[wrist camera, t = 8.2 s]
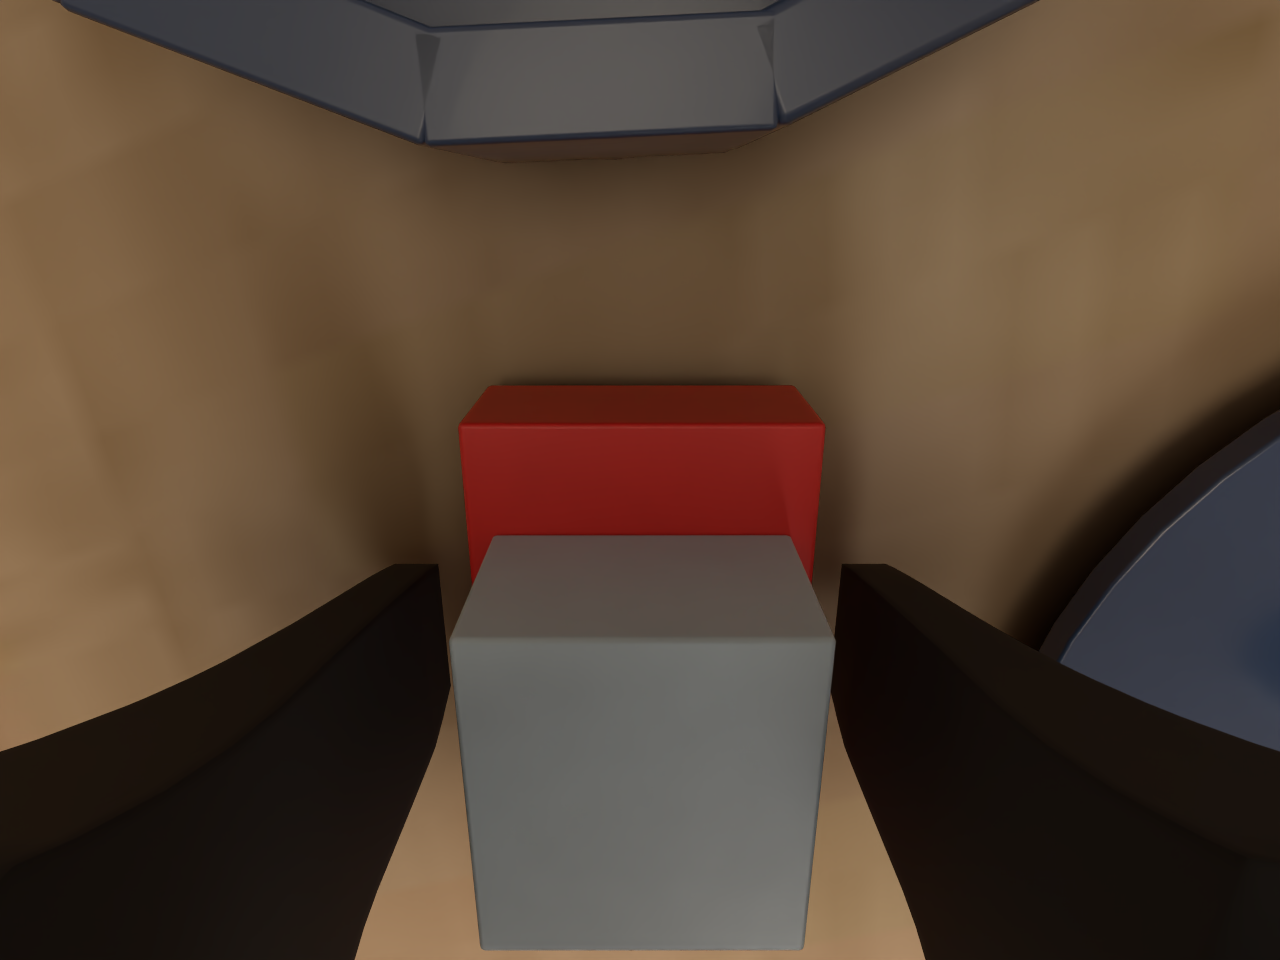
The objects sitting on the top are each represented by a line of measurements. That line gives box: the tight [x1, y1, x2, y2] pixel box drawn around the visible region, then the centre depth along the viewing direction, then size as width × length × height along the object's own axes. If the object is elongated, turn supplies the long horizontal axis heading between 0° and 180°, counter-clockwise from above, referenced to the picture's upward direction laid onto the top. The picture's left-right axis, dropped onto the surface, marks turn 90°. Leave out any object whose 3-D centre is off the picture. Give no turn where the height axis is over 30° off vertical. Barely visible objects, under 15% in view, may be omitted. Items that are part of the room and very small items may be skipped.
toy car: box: [449, 385, 836, 950], centre depth 10 cm, size 7×4×5 cm, turn 0°
